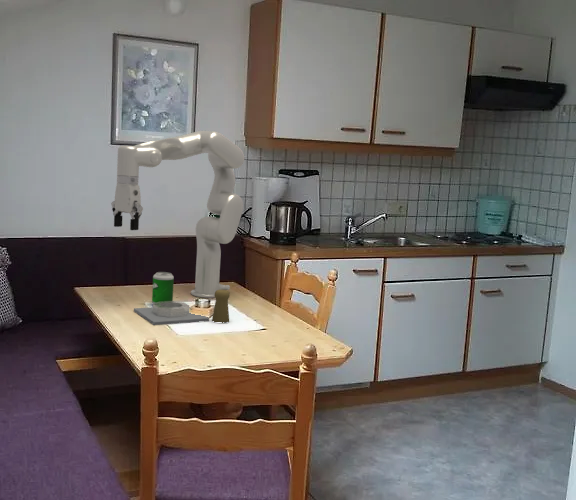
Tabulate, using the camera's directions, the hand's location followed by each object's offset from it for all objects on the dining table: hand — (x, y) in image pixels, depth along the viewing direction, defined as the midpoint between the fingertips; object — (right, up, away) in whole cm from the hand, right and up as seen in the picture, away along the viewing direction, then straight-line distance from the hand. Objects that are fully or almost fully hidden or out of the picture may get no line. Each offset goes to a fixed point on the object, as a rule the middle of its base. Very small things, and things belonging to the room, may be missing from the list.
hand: (126, 228), depth 255 cm
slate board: (+17, -31, -7) cm, 36 cm away
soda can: (+12, -29, +8) cm, 32 cm away
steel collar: (+17, -31, -7) cm, 36 cm away
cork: (+35, -33, -9) cm, 49 cm away
